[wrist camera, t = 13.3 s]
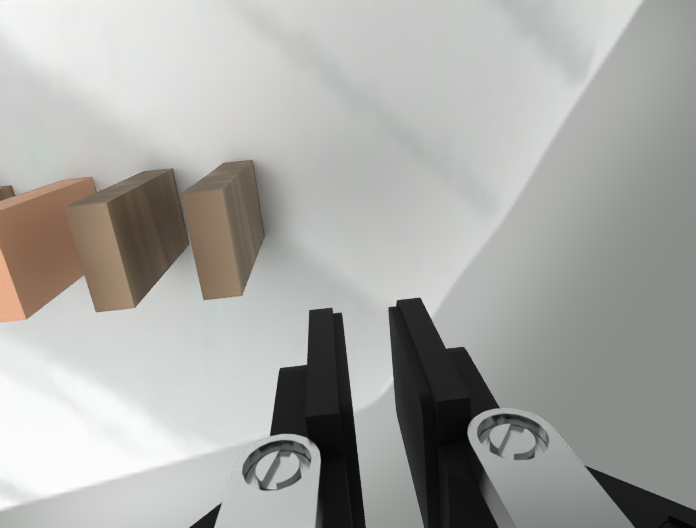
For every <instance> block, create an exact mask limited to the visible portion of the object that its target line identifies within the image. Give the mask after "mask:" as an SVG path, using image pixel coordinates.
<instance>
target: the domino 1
mask: <svg viewBox="0 0 696 528" xmlns="http://www.w3.org/2000/svg"><path fill="white" fill-rule="evenodd" d="M95 193H96V189H95V186H94V182H93V179H92V177H86V178H77V179H67V180H61V181H58V182H55V183H53V184H50V185H47V186H44V187H41V188H38V189H35V190H32V191H29V192H26V193H23V194H20V195H17V196H14V197H11V198H8V199H5V200H2V201H0V322H9V321H18V320H26V319H28V318H29V317H30V316H32V315H33V314H34V313H35V312H37V311H38V310H39V309H41V308H42V307H43V306H44V305H46V304H47V303H48V302H50V301H51V300H52V299H54V298H55V297H56V296H57V295H59V294H60V293H61V292H63V291H64V290H65V289H67V288H68V287H69V286H70V285H72V284H73V283H74V282H76V281H77V280H78V279H79V278H81V277H82V276H83V275H84V271H83V268H82V265H81V261H80V258H79V255H78V252H77V248H76V245H75V242H74V238H73V235H72V232H71V229H70V225H69V222H68V219H67V215H66V212H65V209H64V207H66V206H68V205H70V204H73V203H75V202H77V201H79V200H82V199H84V198H86V197H88V196H90V195H93V194H95Z"/></svg>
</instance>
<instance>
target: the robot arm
mask: <svg viewBox="0 0 696 528" xmlns="http://www.w3.org/2000/svg"><path fill="white" fill-rule="evenodd" d="M389 324H390V337H391V350H392V364H393V377H394V390H395V402H396V411H397V417H398V422H399V425H400V430H401V434H402V438H403V442H404V446H405V450H406V455H407V458H408V463H409V467H410V471H411V475H412V478H413V483H414V487H415V491H416V495H417V499H418V504H419V508H420V511H421V516H422V520H423V524H424V528H696V510H693V509H691V508H688V507H686V506H683V505H681V504H678V503H676V502H674V501H671V500H669V499H666V498H664V497H661V496H659V495H656V494H654V493H651V492H649V491H646V490H644V489H641V488H639V487H636V486H634V485H631V484H629V483H627V482H624V481H622V480H619V479H617V478H614V477H612V476H609V475H607V474H604V473H602V472H599V471H597V470H594V469H592V468H589V467H587V466H585V465H583V463H582V462H581V461H580V460H579V459H578V457H577V456H576V455H575V454H574V452H572V450H571V449H570V448H569V446H568V445H567V444H566V443H565V441H564V440H563V439H562V438H561V437H560V436H559V434H558V433H557V432H556V431H555V429H554V428H553V427H552V426H551V425H550V424H548V423H547V422H546V421H545V420H544V419H542V418H540V417H538V416H536V415H534V414H532V413H529V412H526V411H523V410H518V409H511V408H499V406H498V404H497V402H496V401H495V399H494V397H493V396H492V394H491V392H490V391H489V389H488V387H487V385H486V383H485V382H484V380H483V378H482V376H481V375H480V373H479V371H478V370H477V368H476V366H475V364H474V363H473V361H472V359H471V357H470V356H469V354H468V352H467V351H466V349H465V348H464V347H459V348H449V349H446V348H445V346H444V344H443V342H442V340H441V338H440V336H439V334H438V332H437V330H436V328H435V326H434V324H433V322H432V320H431V318H430V316H429V314H428V312H427V310H426V308H425V306H424V304H423V302H422V300H421V298H413V299H404V300H397V304H396V307H389ZM362 499H363V498H362V489H361V480H360V471H359V462H358V453H357V444H356V434H355V425H354V416H353V407H352V398H351V389H350V380H349V371H348V363H347V354H346V345H345V336H344V327H343V318H342V313H334V314H333V309H332V308H325V309H316V310H309V332H308V357H307V365H302V366H294V367H285V368H280V370H279V376H278V383H277V390H276V397H275V404H274V411H273V418H272V425H271V433H270V436H269V437H267V438H264V439H262V440H259V441H257V442H256V443H254V444H253V445H251V446H249V447H248V448H247V449H246V450H245V451H244V452H243V453H242V454H241V455H240V456H239V457H238V459H237V461H236V463H235V465H234V467H233V470H232V473H231V476H230V479H229V483H228V486H227V489H226V492H225V495H224V498H223V502H222V503H221V504H220V505H218V506H217V507H215V508H214V509H213V510H212V511H210V512H209V513H208V514H206V515H205V516H204V517H203V518H201V519H200V520H199V521H197V522H196V523H195V524H194V525H192V526H191V527H190V528H366V526H365V517H364V507H363V500H362Z"/></svg>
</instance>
